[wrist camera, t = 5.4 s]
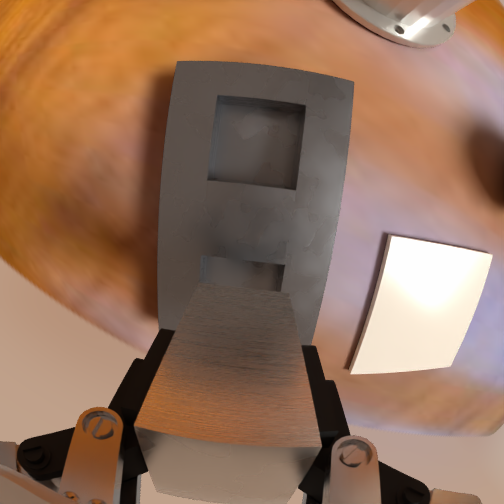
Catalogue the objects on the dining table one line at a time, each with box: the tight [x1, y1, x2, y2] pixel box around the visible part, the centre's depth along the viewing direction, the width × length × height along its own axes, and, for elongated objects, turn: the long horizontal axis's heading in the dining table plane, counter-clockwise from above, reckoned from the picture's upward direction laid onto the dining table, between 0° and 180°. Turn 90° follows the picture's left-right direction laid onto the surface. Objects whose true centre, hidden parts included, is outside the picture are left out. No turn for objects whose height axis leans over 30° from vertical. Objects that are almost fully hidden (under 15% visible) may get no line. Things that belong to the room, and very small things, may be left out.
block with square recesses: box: [157, 61, 354, 345], centre depth 17 cm, size 18×10×3 cm, turn 173°
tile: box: [349, 234, 493, 374], centre depth 20 cm, size 12×12×1 cm
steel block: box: [134, 282, 322, 504], centre depth 9 cm, size 4×4×8 cm
